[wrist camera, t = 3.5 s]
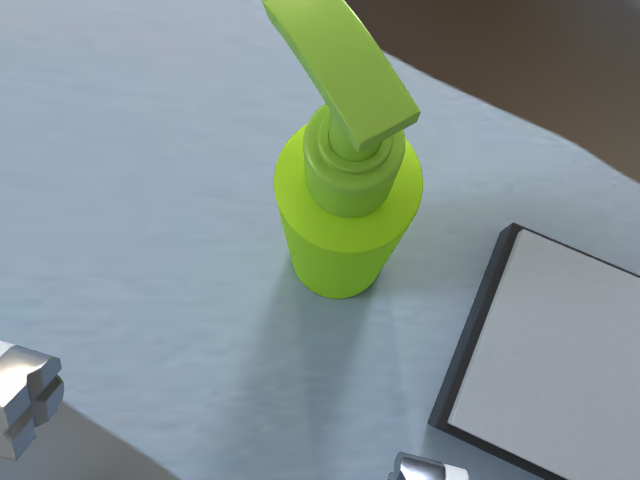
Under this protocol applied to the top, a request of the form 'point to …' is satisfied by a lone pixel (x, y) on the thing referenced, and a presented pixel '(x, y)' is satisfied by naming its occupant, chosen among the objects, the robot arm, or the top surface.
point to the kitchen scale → (549, 363)
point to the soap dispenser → (344, 152)
